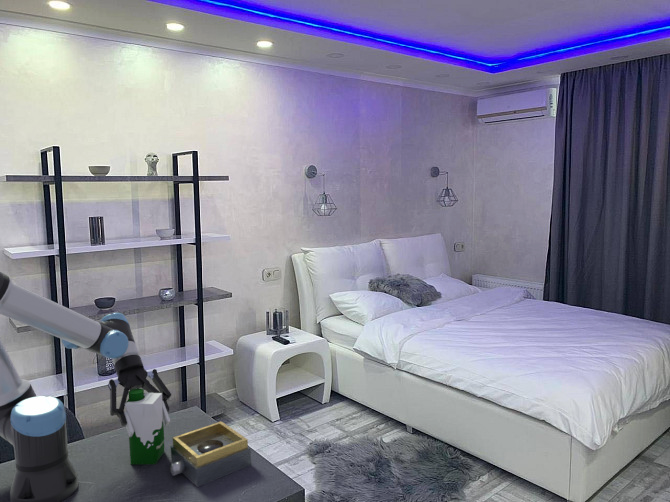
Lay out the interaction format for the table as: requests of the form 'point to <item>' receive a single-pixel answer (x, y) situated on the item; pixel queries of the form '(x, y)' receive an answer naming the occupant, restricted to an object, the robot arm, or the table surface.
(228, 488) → the table surface
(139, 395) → the soya milk
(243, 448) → the wooden rimmed tray
